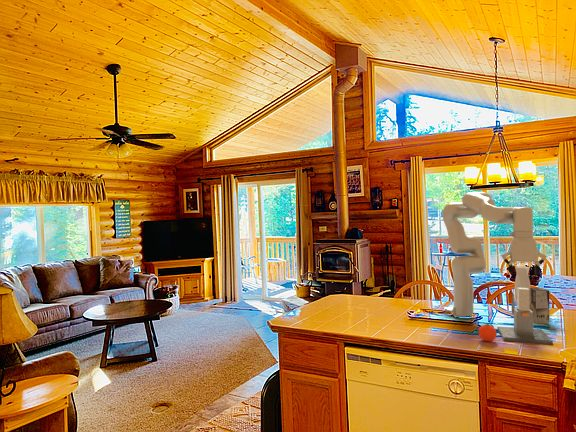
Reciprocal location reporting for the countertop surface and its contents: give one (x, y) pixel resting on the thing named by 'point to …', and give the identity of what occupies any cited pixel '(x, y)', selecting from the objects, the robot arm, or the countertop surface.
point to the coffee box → (539, 304)
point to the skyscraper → (520, 281)
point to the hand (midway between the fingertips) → (523, 274)
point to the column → (523, 299)
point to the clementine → (487, 332)
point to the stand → (524, 330)
